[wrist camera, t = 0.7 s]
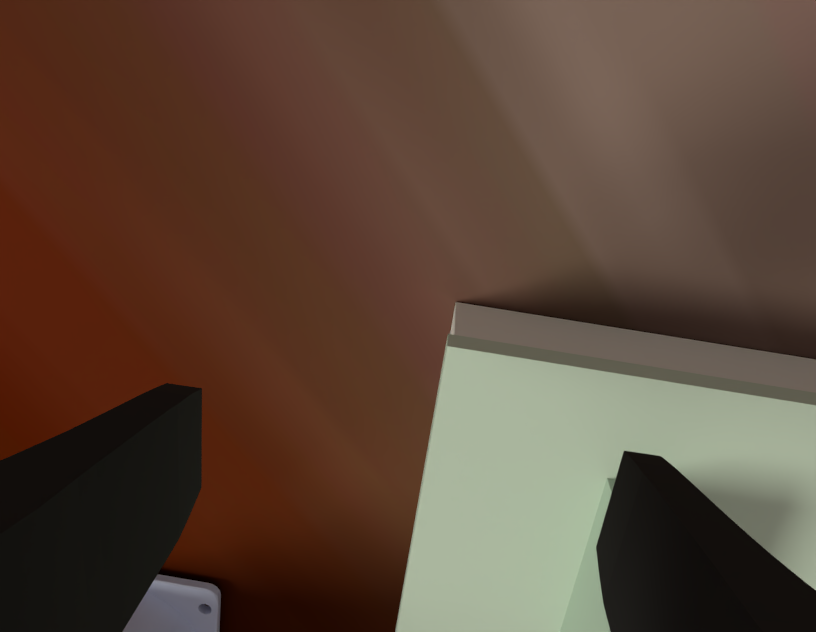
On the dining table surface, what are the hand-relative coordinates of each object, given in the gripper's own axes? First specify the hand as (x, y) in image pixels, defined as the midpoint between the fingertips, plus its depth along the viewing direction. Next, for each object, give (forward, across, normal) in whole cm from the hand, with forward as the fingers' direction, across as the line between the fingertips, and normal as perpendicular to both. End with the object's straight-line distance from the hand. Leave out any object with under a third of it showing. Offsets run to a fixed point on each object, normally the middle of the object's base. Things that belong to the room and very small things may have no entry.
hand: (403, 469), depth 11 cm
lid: (+7, -7, +7) cm, 12 cm away
